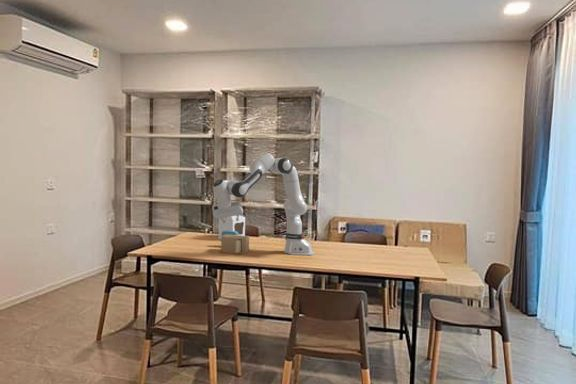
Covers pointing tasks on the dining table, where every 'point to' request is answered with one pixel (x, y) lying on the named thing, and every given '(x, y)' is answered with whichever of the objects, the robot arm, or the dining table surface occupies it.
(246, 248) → the carton
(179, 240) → the dining table surface
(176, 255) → the dining table surface
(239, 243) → the flap
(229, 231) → the data package
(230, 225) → the gable box
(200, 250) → the dining table surface
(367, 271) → the dining table surface
